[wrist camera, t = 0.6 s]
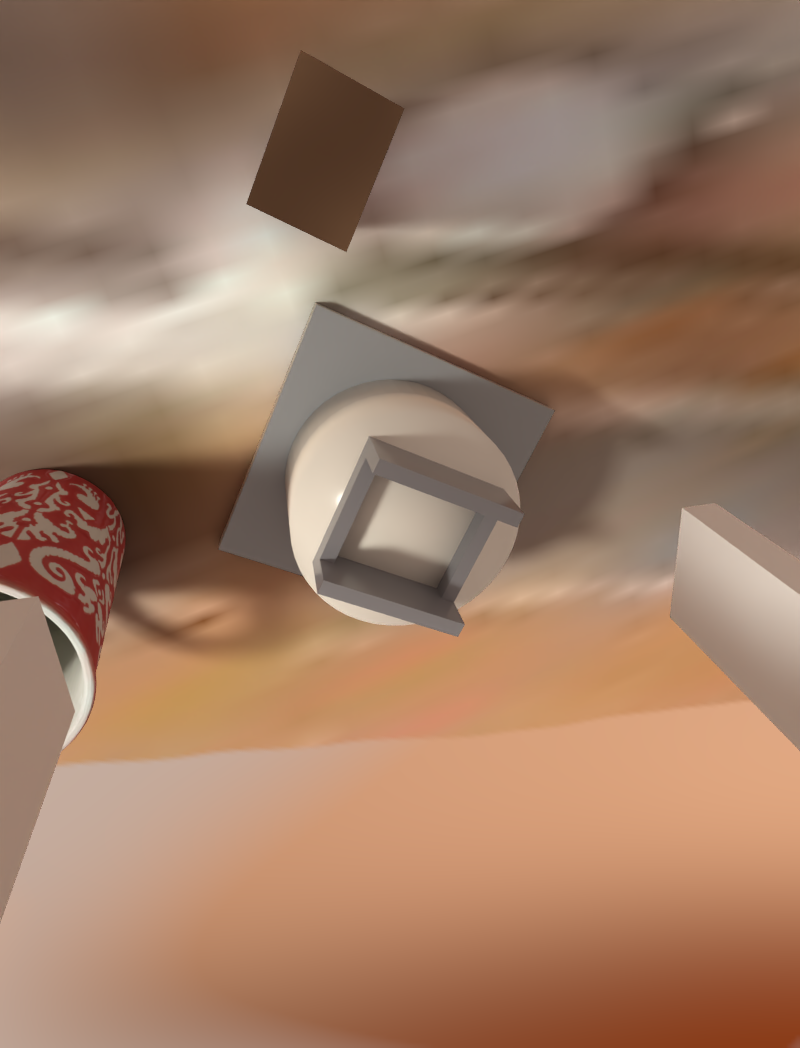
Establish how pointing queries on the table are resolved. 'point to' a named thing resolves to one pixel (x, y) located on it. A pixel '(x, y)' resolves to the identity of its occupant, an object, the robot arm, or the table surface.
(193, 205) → the table surface
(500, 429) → the square plate with disc
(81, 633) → the mug
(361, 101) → the wood plank
